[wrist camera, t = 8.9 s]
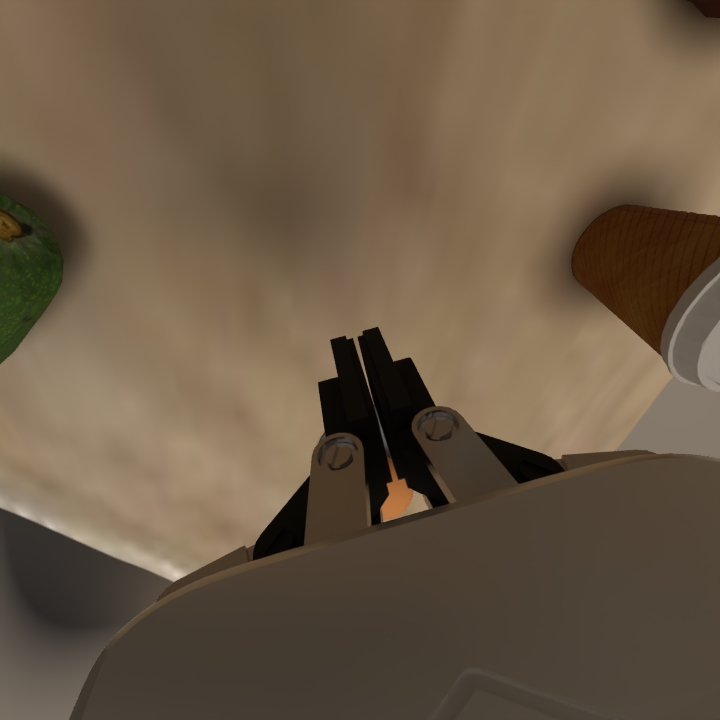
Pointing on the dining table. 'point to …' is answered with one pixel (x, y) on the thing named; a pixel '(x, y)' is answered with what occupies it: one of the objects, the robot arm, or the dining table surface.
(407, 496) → the ball
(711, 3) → the muffin
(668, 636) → the robot arm
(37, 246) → the fruit
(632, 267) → the disposable coffee cup
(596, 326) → the dining table surface
